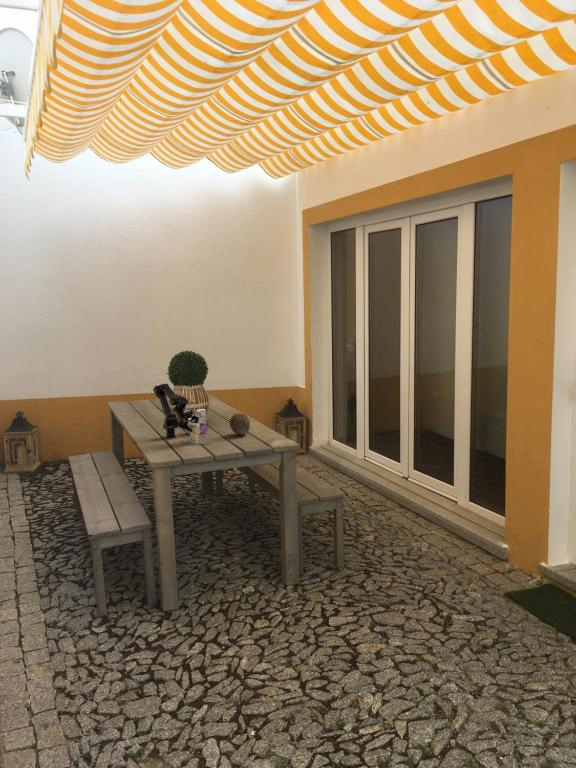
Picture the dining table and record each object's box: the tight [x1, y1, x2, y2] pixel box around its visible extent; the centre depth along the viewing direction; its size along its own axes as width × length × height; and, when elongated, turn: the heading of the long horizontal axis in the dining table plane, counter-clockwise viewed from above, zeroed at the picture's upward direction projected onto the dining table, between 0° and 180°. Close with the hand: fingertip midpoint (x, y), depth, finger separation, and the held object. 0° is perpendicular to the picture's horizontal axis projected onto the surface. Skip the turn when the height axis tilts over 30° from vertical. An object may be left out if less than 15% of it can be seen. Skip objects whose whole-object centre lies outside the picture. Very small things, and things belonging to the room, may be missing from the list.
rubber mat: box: [181, 438, 211, 447], centre depth 424 cm, size 14×18×1 cm
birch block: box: [189, 423, 201, 443], centre depth 423 cm, size 4×4×12 cm
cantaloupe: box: [228, 413, 251, 436], centre depth 442 cm, size 14×14×15 cm
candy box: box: [185, 408, 208, 436], centre depth 451 cm, size 14×6×16 cm, turn 112°
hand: (196, 430), depth 422 cm, fingers open, 9 cm apart
